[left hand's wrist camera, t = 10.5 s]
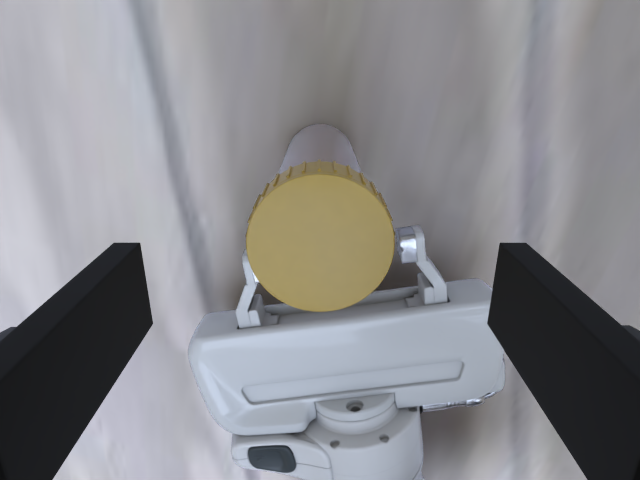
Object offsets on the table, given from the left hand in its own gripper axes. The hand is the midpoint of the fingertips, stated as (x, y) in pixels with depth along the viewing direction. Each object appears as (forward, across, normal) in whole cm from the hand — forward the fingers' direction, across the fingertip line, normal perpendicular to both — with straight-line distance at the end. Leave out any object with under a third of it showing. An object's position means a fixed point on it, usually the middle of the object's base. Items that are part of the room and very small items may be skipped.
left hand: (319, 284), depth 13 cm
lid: (+3, 0, 0) cm, 3 cm away
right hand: (+13, -1, +4) cm, 14 cm away
